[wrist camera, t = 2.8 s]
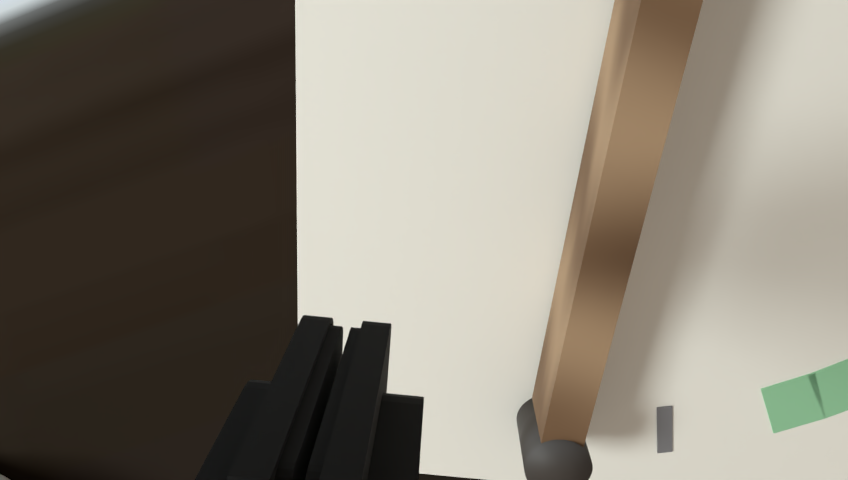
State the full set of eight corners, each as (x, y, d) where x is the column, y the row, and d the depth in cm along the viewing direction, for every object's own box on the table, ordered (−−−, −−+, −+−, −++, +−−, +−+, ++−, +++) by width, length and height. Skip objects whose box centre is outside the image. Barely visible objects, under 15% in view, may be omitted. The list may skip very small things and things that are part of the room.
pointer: (613, -196, 14) (645, -230, 12) (755, -183, 14) (815, -214, 12) (497, 437, 23) (503, 489, 21) (585, 445, 23) (601, 498, 21)
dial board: (306, -259, 16) (292, -283, 14) (1286, -166, 16) (1369, -180, 14) (306, 436, 26) (298, 463, 25) (895, 491, 26) (921, 520, 25)
